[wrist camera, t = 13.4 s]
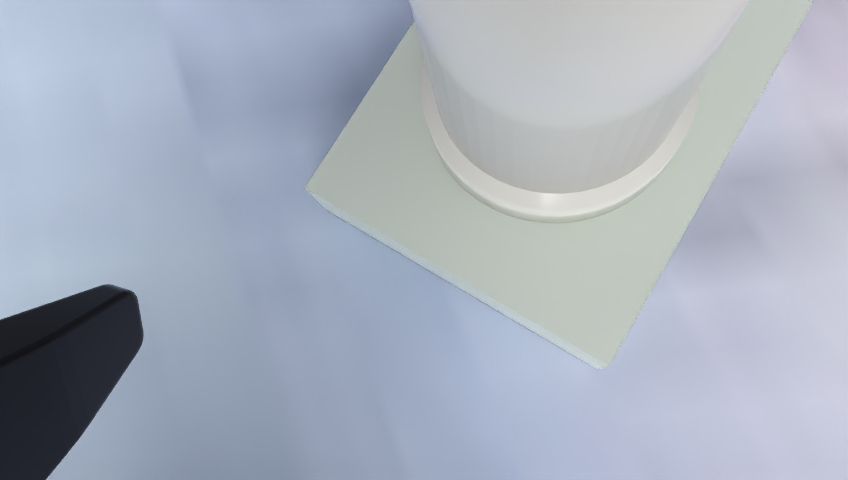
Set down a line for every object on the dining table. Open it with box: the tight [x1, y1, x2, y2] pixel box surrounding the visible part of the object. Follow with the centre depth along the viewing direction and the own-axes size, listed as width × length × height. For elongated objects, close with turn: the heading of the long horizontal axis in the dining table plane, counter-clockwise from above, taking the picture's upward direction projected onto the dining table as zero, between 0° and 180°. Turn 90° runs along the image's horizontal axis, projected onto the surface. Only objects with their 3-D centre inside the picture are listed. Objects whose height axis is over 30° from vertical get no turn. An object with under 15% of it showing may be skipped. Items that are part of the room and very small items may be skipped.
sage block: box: [305, 0, 813, 369], centre depth 20 cm, size 12×10×2 cm
